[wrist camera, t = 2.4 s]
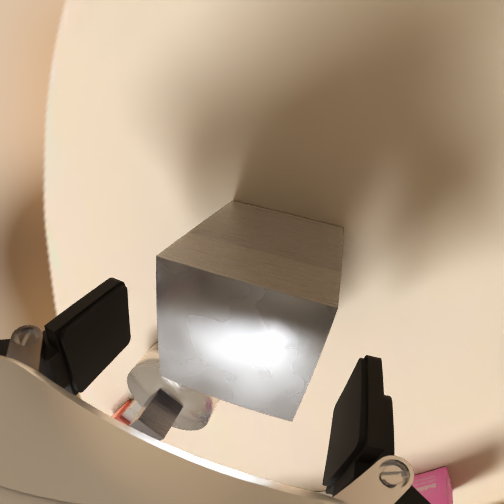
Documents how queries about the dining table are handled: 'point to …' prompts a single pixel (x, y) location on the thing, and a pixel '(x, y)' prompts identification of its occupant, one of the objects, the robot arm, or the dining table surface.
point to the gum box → (432, 486)
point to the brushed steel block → (248, 306)
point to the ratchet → (162, 401)
